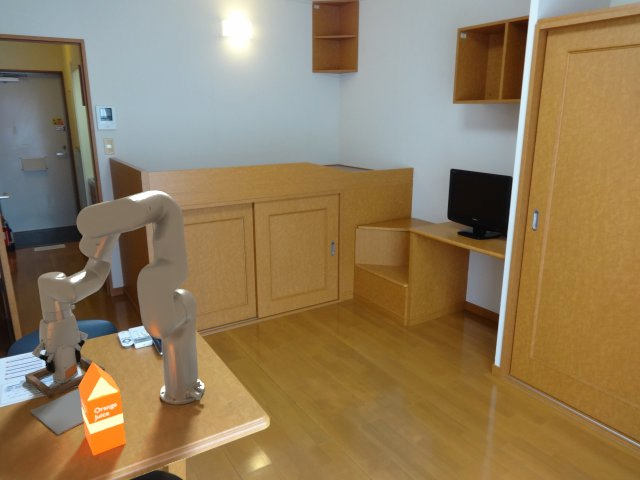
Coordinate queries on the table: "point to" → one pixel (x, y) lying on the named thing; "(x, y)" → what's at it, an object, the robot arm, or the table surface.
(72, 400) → the rubber mat
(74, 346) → the robot arm
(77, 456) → the table surface
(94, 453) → the orange juice
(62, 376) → the skincare box
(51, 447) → the table surface
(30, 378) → the brown square frame
